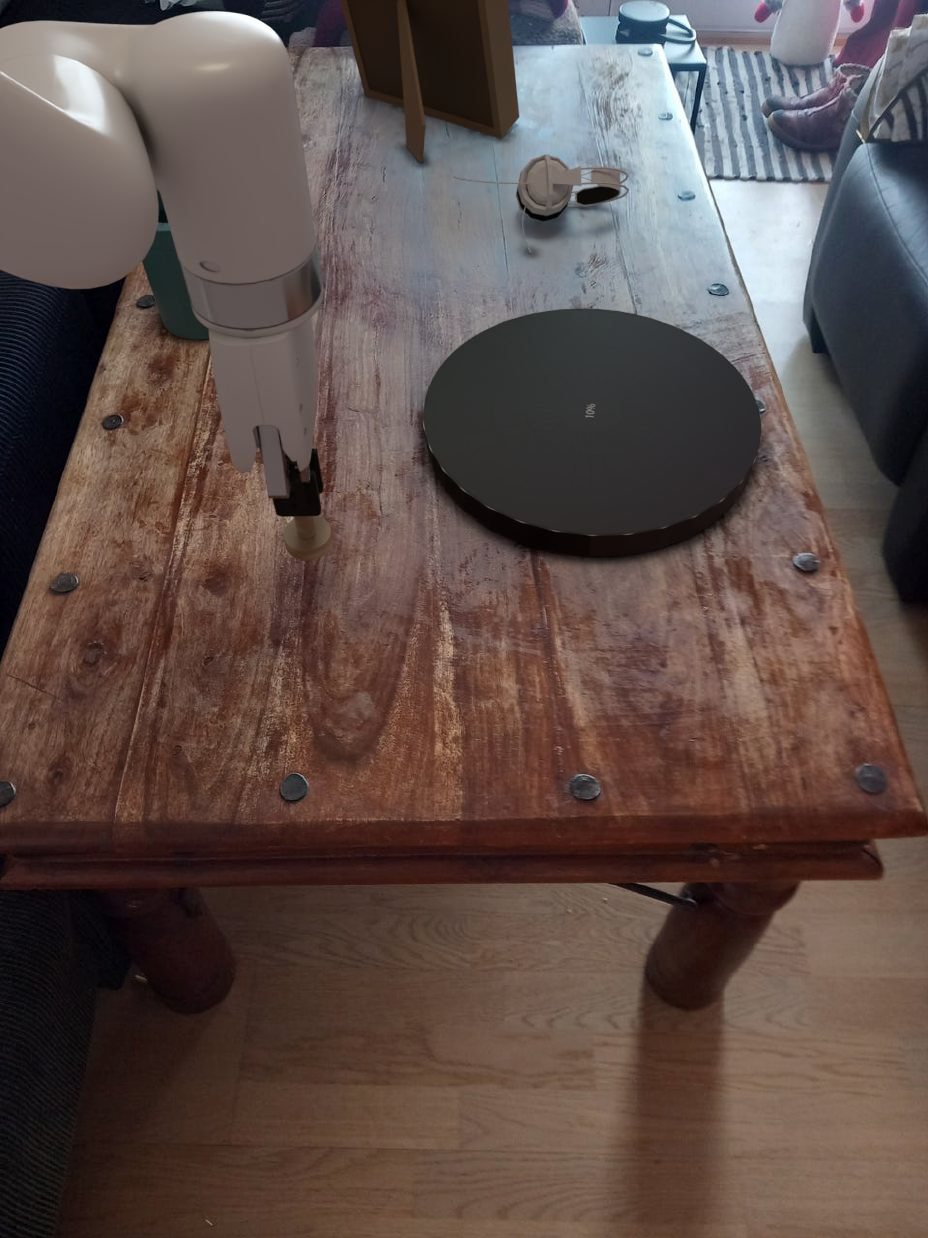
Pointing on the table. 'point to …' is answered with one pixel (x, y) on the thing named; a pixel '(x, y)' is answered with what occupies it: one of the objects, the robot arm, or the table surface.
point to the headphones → (561, 188)
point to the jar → (170, 283)
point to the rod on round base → (307, 536)
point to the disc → (591, 431)
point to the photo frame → (437, 62)
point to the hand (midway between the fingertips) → (300, 501)
